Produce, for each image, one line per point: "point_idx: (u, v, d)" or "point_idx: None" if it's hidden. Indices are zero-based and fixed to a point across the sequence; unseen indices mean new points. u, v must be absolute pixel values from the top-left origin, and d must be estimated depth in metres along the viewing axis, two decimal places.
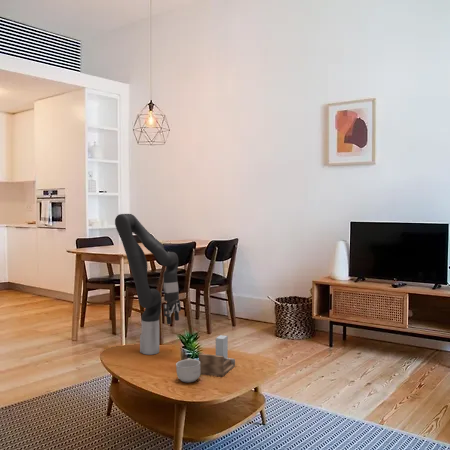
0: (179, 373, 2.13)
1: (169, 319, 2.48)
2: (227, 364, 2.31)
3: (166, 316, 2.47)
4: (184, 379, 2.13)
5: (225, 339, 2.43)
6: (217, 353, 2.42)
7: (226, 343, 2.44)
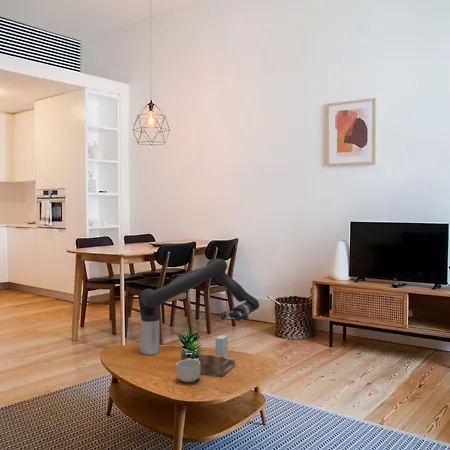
0: (179, 373, 2.13)
1: (240, 319, 2.54)
2: (227, 364, 2.31)
3: (243, 317, 2.56)
4: (184, 379, 2.13)
5: (225, 339, 2.43)
6: (217, 353, 2.42)
7: (226, 343, 2.44)
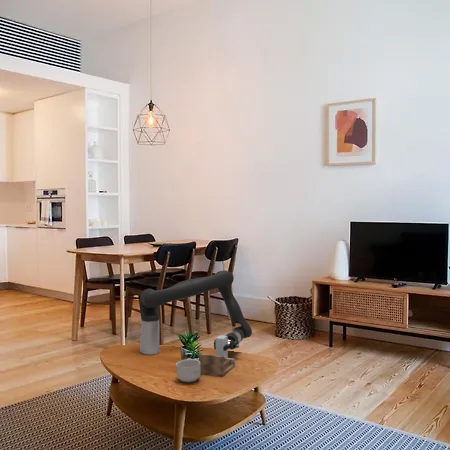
0: (179, 373, 2.13)
1: None
2: (227, 364, 2.31)
3: (230, 346, 2.44)
4: (184, 379, 2.13)
5: (225, 339, 2.43)
6: (217, 353, 2.42)
7: (226, 343, 2.44)
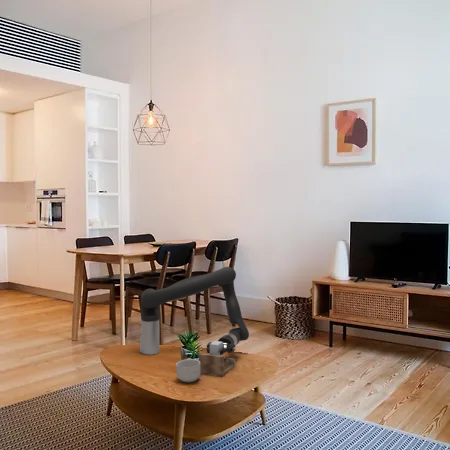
0: (179, 373, 2.13)
1: (224, 352, 2.28)
2: (227, 364, 2.31)
3: (227, 349, 2.30)
4: (184, 379, 2.13)
5: (220, 345, 2.29)
6: None
7: (220, 349, 2.30)
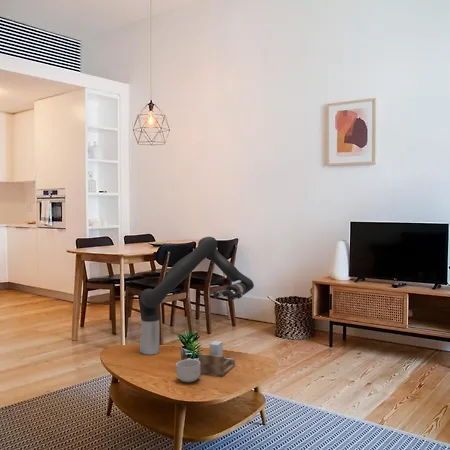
0: (179, 373, 2.13)
1: (233, 297, 2.45)
2: (227, 364, 2.31)
3: (236, 295, 2.46)
4: (184, 379, 2.13)
5: (220, 345, 2.29)
6: None
7: (220, 349, 2.30)
